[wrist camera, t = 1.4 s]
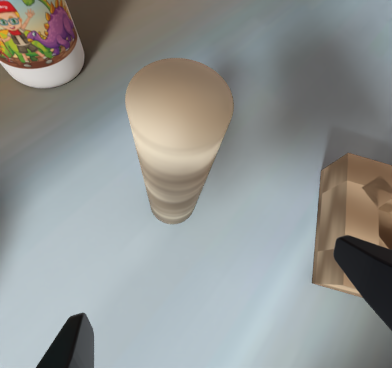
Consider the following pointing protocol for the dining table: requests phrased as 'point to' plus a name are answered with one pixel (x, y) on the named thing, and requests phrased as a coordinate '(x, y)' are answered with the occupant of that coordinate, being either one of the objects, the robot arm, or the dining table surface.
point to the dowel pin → (177, 131)
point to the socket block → (351, 213)
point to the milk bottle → (39, 42)
